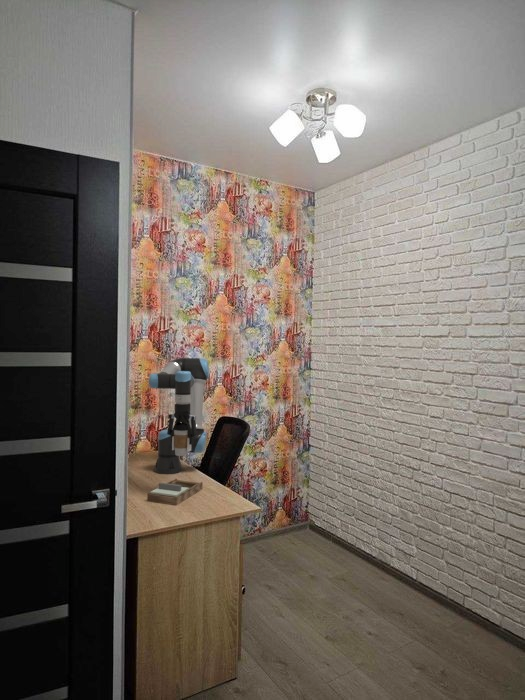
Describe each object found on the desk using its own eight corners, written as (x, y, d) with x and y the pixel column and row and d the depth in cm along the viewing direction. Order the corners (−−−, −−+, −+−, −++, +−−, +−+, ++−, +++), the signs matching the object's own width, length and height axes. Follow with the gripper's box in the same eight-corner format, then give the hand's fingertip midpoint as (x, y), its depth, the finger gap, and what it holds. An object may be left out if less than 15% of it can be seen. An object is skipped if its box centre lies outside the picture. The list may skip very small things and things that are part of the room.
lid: (164, 486, 231) (164, 479, 231) (188, 489, 227) (188, 482, 227) (150, 493, 220) (150, 486, 220) (175, 496, 216) (176, 489, 216)
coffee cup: (192, 453, 237) (193, 422, 237) (186, 457, 229) (187, 425, 229) (176, 452, 239) (177, 422, 239) (169, 456, 230) (170, 424, 230)
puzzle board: (175, 485, 244) (175, 478, 244) (202, 489, 239) (202, 482, 239) (147, 500, 219) (147, 493, 219) (176, 505, 214) (176, 497, 214)
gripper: (160, 402, 233) (159, 449, 234) (198, 405, 227) (196, 453, 227) (168, 401, 240) (167, 446, 241) (205, 403, 234) (204, 450, 234)
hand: (181, 450), depth 234 cm, fingers closed on coffee cup, 7 cm apart
